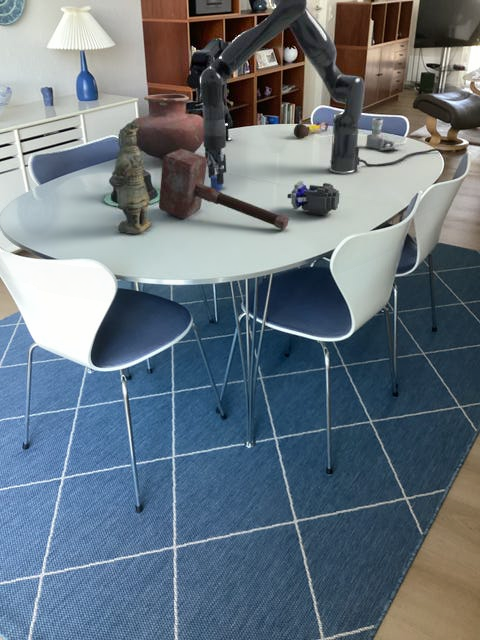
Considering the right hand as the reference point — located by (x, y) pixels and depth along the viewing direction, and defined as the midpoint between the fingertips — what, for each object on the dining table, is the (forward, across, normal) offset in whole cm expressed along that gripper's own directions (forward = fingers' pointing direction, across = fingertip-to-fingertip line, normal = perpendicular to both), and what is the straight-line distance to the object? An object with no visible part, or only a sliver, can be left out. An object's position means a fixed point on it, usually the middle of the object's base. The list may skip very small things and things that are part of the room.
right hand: (216, 180), depth 192 cm
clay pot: (+3, -45, -3) cm, 45 cm away
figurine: (+2, -61, +70) cm, 93 cm away
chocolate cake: (+3, -3, -28) cm, 29 cm away
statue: (+3, +26, -35) cm, 44 cm away
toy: (+3, +36, +18) cm, 41 cm away
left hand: (-8, -54, +15) cm, 57 cm away
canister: (+3, 0, 0) cm, 3 cm away
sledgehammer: (+3, +31, -9) cm, 32 cm away
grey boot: (+2, -21, +84) cm, 87 cm away
